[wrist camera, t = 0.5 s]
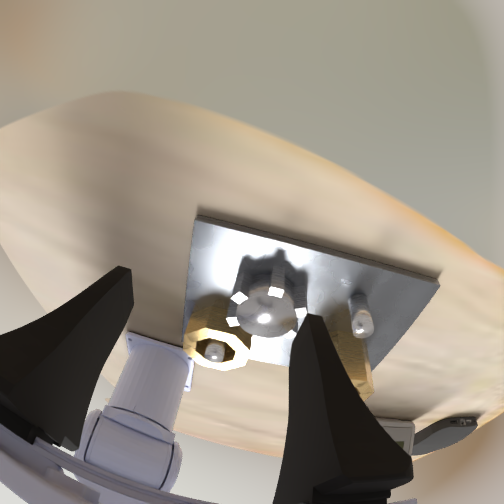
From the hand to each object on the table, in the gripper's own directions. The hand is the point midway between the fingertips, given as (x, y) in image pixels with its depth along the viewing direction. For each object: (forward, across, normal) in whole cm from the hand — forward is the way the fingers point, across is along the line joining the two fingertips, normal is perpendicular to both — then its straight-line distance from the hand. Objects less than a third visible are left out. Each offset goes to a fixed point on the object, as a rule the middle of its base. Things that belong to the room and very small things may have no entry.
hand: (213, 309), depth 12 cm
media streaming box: (+11, -47, +36) cm, 60 cm away
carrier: (+10, -7, +9) cm, 15 cm away
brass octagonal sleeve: (+9, -11, +12) cm, 19 cm away
